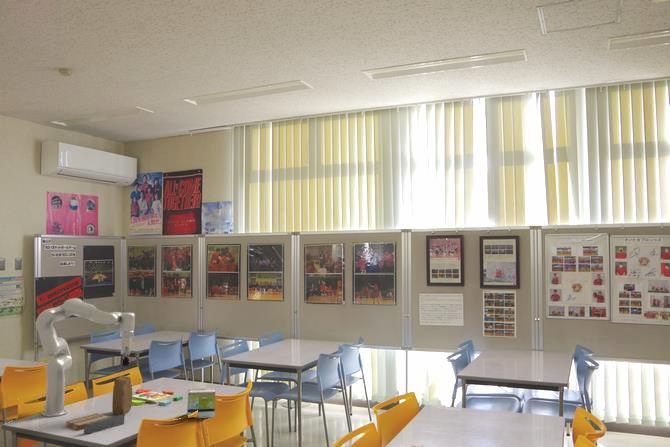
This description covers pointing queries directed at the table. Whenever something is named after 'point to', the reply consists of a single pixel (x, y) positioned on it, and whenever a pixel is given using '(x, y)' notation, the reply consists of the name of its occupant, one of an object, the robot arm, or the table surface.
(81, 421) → the walnut slab
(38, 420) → the table surface
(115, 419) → the block
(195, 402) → the tea box
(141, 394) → the pattern blocks set
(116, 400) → the block
